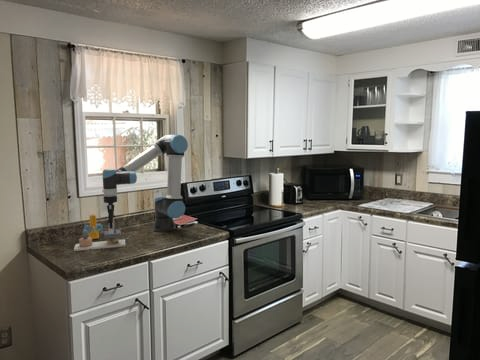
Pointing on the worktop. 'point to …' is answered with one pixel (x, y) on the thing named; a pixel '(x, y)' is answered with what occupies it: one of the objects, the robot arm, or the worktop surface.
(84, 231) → the peg
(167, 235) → the worktop surface
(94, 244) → the board
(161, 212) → the robot arm
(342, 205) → the worktop surface
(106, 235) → the square frame with hole
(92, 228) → the tube with blue rings
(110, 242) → the stand
